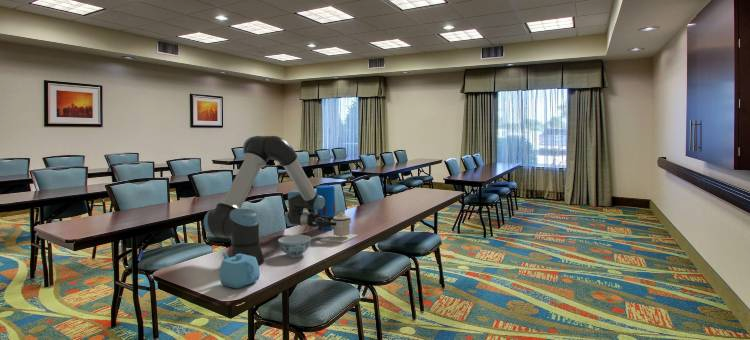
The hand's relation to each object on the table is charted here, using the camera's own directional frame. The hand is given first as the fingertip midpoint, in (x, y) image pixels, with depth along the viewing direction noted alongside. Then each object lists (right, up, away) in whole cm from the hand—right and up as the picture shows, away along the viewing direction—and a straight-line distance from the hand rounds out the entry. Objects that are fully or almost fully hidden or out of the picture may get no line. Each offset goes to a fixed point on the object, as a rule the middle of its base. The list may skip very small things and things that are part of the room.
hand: (346, 222), depth 218 cm
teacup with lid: (-4, -7, +3) cm, 8 cm away
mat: (-4, -9, +3) cm, 10 cm away
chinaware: (-22, -12, -26) cm, 36 cm away
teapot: (-37, -16, -61) cm, 73 cm away
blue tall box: (-14, -7, +27) cm, 31 cm away
